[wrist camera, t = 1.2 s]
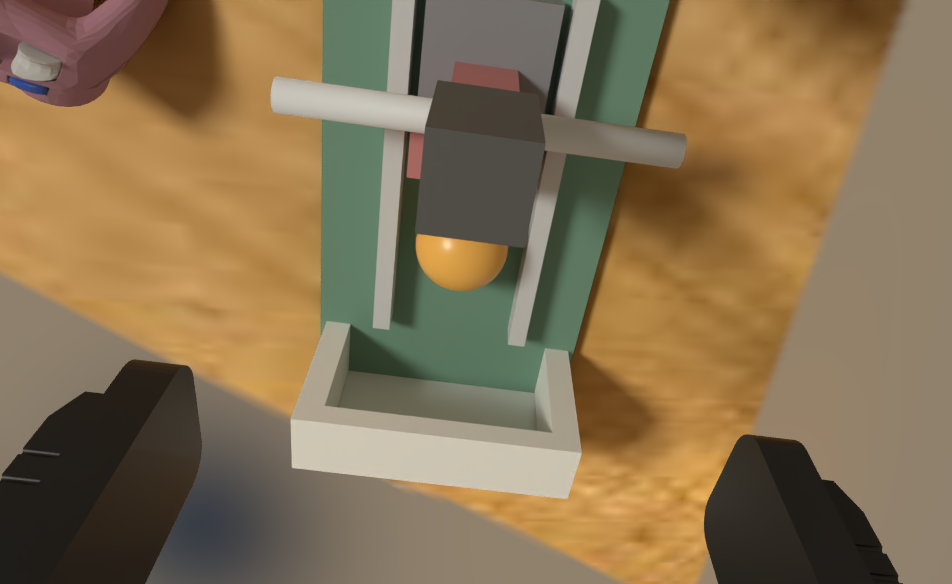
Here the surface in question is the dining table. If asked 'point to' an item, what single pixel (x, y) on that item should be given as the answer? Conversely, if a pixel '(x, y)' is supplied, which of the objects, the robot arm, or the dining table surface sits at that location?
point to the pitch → (396, 197)
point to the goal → (436, 426)
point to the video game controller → (71, 45)
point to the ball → (459, 261)
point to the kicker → (480, 118)
